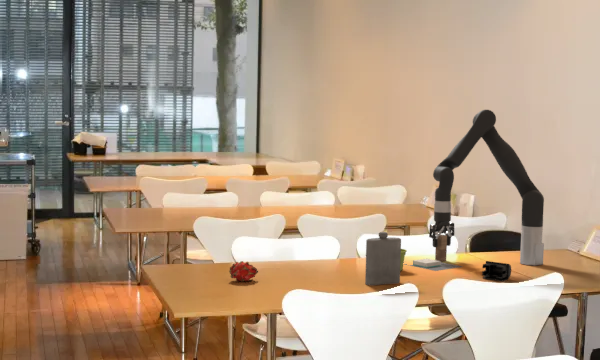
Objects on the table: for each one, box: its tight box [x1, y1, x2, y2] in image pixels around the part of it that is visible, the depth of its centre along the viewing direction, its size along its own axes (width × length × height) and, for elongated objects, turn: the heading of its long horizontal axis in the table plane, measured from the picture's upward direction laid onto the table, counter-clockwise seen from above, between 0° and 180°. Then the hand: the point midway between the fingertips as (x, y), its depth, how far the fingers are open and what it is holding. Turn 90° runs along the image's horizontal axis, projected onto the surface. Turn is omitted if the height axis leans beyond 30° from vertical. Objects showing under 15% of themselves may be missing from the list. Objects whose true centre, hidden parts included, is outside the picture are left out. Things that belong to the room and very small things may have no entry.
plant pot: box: [400, 248, 407, 272], centre depth 354 cm, size 9×9×9 cm
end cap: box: [481, 260, 512, 282], centre depth 340 cm, size 10×7×7 cm
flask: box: [364, 231, 402, 287], centre depth 325 cm, size 15×6×20 cm, turn 116°
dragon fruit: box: [228, 260, 259, 282], centre depth 325 cm, size 8×8×12 cm
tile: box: [412, 258, 441, 268], centre depth 365 cm, size 8×2×9 cm
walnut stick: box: [434, 234, 448, 262], centre depth 377 cm, size 4×4×12 cm
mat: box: [404, 261, 463, 272], centre depth 366 cm, size 22×18×1 cm
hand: (441, 246), depth 377 cm, fingers open, 8 cm apart
